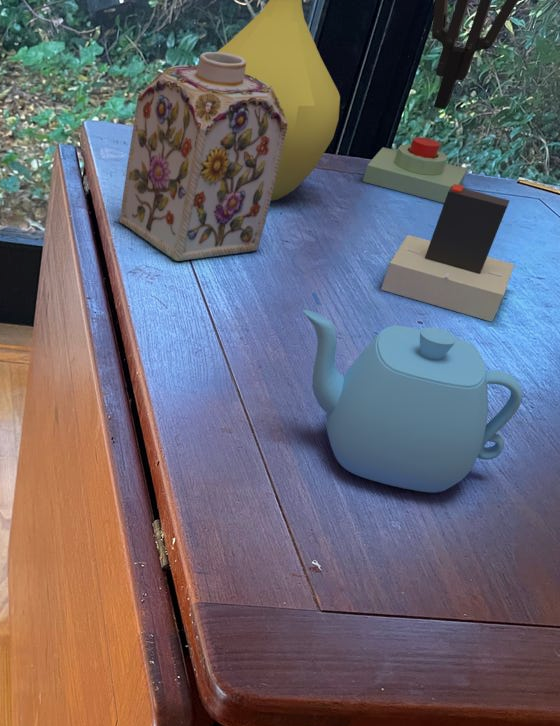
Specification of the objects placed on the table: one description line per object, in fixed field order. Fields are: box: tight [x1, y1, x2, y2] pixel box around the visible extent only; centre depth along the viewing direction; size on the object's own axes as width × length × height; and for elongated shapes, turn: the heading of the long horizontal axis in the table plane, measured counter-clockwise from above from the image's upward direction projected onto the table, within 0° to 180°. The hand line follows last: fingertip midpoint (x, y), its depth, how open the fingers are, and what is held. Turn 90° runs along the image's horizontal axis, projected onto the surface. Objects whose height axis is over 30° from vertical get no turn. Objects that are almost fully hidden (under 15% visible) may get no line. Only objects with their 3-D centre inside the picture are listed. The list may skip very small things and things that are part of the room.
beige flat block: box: [380, 234, 516, 323], centre depth 108 cm, size 12×10×3 cm
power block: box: [362, 143, 468, 204], centre depth 134 cm, size 12×10×4 cm
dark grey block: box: [425, 184, 510, 273], centre depth 104 cm, size 6×2×7 cm, turn 65°
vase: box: [217, 0, 341, 202], centre depth 116 cm, size 18×18×30 cm
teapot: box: [302, 309, 523, 493], centre depth 78 cm, size 13×11×18 cm
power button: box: [409, 136, 441, 158], centre depth 133 cm, size 4×4×2 cm
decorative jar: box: [119, 51, 288, 262], centre depth 105 cm, size 12×12×18 cm
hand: (440, 105), depth 129 cm, fingers closed
